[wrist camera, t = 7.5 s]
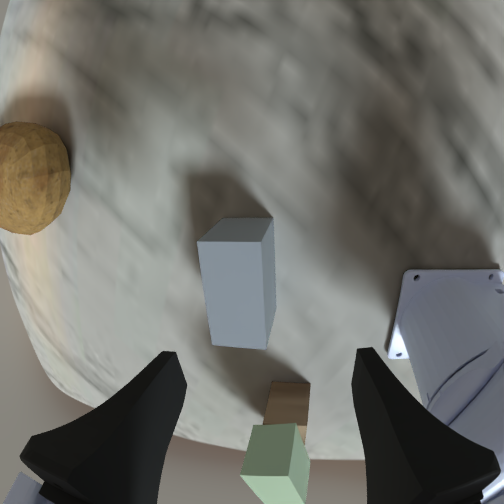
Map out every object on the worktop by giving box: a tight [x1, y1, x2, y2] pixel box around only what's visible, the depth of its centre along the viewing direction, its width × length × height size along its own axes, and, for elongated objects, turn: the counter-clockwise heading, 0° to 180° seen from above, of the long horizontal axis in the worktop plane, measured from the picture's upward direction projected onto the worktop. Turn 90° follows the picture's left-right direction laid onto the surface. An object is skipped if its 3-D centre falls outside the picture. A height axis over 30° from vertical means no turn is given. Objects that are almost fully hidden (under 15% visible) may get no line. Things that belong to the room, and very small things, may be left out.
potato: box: [0, 122, 71, 235], centre depth 18 cm, size 10×14×8 cm
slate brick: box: [197, 218, 276, 350], centre depth 19 cm, size 7×4×5 cm, turn 3°
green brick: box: [240, 423, 310, 504], centre depth 19 cm, size 7×4×5 cm, turn 17°
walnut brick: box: [263, 381, 310, 446], centre depth 24 cm, size 7×4×5 cm, turn 3°
